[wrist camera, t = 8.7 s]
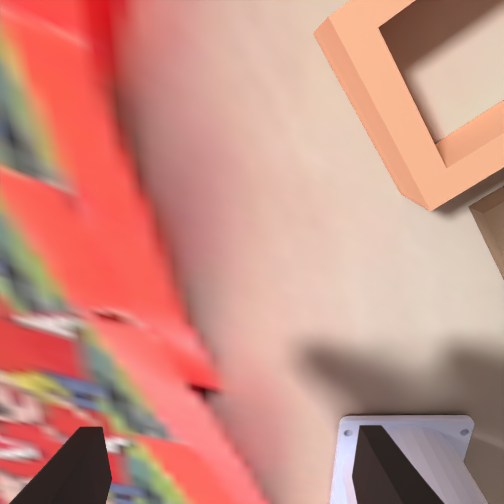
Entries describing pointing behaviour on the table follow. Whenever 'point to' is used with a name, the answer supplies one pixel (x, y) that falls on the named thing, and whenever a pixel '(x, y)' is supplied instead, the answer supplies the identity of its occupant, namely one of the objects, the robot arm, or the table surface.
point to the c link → (405, 110)
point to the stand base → (492, 224)
